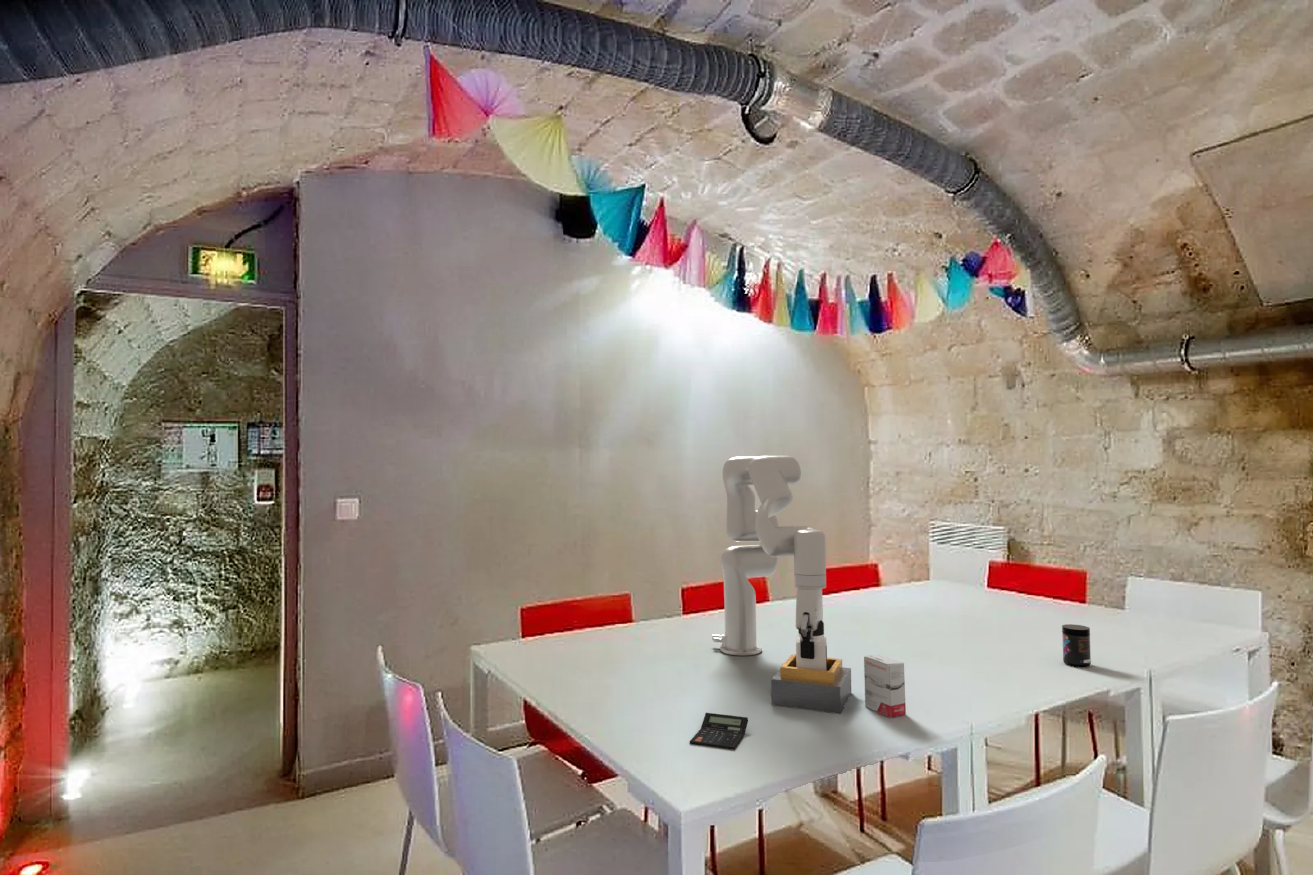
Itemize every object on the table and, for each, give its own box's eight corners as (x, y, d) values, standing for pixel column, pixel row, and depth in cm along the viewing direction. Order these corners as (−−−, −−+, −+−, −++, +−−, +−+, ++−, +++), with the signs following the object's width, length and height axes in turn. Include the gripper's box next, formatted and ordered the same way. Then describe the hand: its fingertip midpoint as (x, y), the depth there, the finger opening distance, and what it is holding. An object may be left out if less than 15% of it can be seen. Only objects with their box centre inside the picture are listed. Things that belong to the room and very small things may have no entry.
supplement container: (1072, 660, 203) (1071, 623, 204) (1096, 666, 197) (1095, 628, 198) (1057, 663, 200) (1056, 626, 200) (1081, 669, 194) (1080, 631, 194)
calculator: (689, 745, 145) (689, 730, 146) (706, 725, 156) (706, 711, 156) (734, 751, 142) (734, 736, 142) (748, 731, 153) (748, 716, 153)
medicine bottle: (827, 674, 169) (826, 623, 169) (796, 673, 170) (795, 622, 170) (826, 665, 176) (825, 616, 176) (797, 664, 177) (796, 615, 177)
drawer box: (771, 704, 168) (770, 668, 169) (789, 682, 185) (789, 649, 185) (840, 713, 162) (839, 675, 162) (852, 689, 179) (852, 655, 179)
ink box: (907, 715, 161) (905, 661, 161) (890, 718, 159) (889, 664, 159) (880, 703, 169) (879, 652, 169) (863, 706, 167) (862, 655, 167)
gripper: (802, 574, 183) (803, 643, 182) (786, 585, 167) (787, 661, 166) (832, 576, 180) (833, 646, 179) (818, 587, 164) (819, 665, 163)
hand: (811, 653), depth 173 cm, fingers closed on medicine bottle, 7 cm apart
